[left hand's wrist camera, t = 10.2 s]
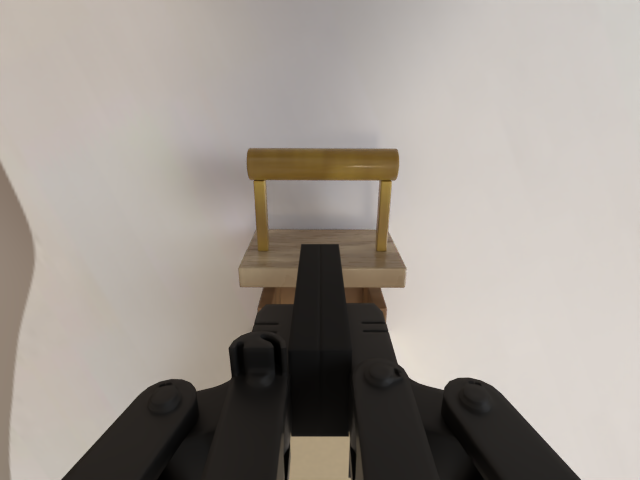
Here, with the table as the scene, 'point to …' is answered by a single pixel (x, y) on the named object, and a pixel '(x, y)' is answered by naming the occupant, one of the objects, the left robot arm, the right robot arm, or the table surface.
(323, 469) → the wooden box
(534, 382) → the table surface
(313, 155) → the drawer
